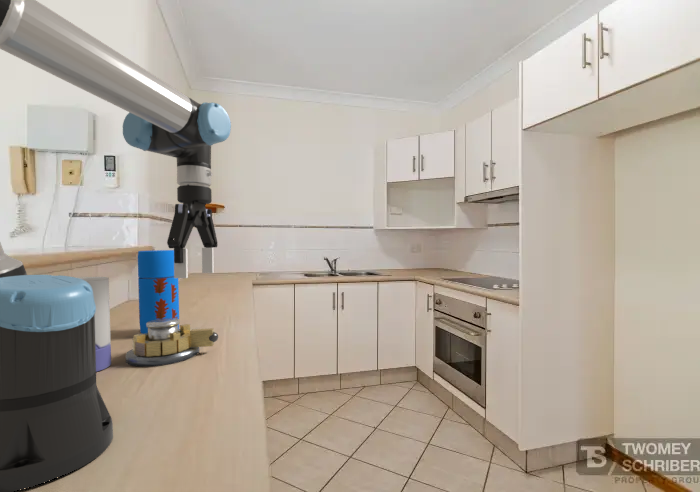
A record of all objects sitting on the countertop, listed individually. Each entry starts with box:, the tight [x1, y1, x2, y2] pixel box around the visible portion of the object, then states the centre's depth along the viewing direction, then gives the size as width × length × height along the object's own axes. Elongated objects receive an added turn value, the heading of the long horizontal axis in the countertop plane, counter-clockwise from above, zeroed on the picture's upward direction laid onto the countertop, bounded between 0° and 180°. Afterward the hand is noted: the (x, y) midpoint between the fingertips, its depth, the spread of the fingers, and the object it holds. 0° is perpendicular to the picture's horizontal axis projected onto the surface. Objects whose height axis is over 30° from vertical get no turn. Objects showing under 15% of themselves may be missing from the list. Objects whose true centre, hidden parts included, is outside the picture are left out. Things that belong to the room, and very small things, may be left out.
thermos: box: [137, 249, 180, 334], centre depth 110 cm, size 11×11×25 cm
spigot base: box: [125, 318, 200, 368], centre depth 88 cm, size 17×16×8 cm
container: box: [78, 276, 112, 373], centre depth 79 cm, size 10×10×20 cm
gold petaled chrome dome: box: [132, 323, 219, 357], centre depth 89 cm, size 19×13×4 cm
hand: (195, 275), depth 86 cm, fingers open, 13 cm apart
